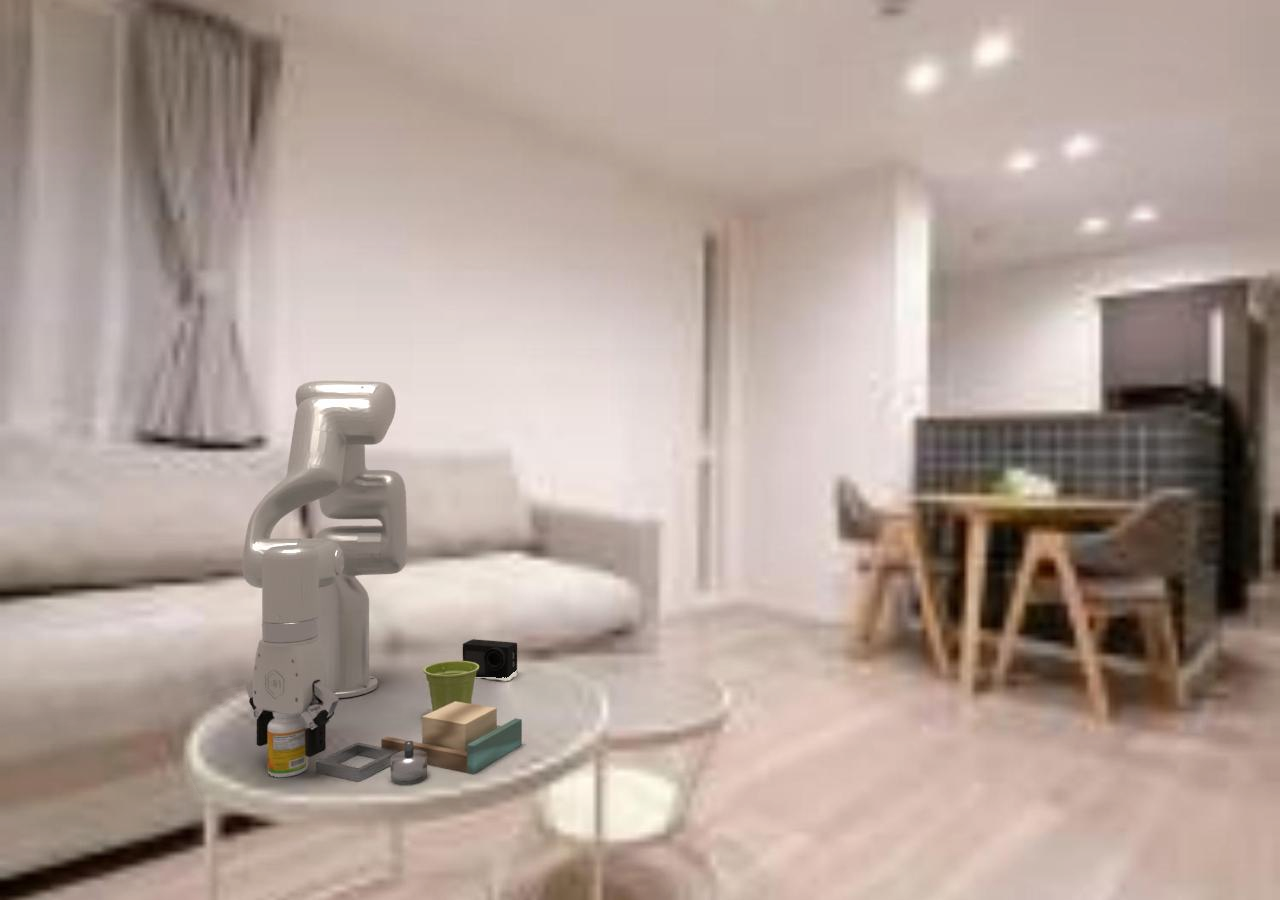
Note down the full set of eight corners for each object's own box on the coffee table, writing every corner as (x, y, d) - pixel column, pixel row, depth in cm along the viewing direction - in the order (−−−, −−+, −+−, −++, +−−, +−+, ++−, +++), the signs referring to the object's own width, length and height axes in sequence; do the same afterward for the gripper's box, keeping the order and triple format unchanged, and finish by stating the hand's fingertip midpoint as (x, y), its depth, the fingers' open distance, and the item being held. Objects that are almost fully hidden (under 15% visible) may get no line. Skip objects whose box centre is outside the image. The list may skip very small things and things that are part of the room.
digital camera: (458, 679, 161) (458, 644, 161) (472, 671, 167) (472, 638, 167) (505, 683, 158) (505, 648, 158) (517, 676, 164) (517, 642, 163)
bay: (381, 754, 121) (381, 715, 121) (434, 728, 133) (434, 692, 133) (474, 774, 114) (473, 732, 114) (521, 744, 126) (521, 706, 126)
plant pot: (423, 711, 142) (423, 662, 142) (477, 706, 144) (476, 658, 144) (423, 729, 133) (423, 677, 133) (481, 723, 135) (481, 672, 135)
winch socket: (315, 771, 115) (315, 737, 115) (357, 752, 123) (357, 719, 123) (402, 791, 108) (402, 755, 108) (441, 769, 116) (441, 735, 116)
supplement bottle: (275, 763, 118) (275, 698, 118) (313, 762, 118) (313, 697, 118) (261, 779, 113) (261, 710, 113) (300, 777, 113) (300, 709, 113)
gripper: (226, 630, 116) (227, 747, 116) (314, 642, 109) (314, 767, 109) (269, 620, 123) (270, 731, 123) (355, 631, 116) (355, 748, 116)
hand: (291, 748), depth 116 cm, fingers open, 9 cm apart
